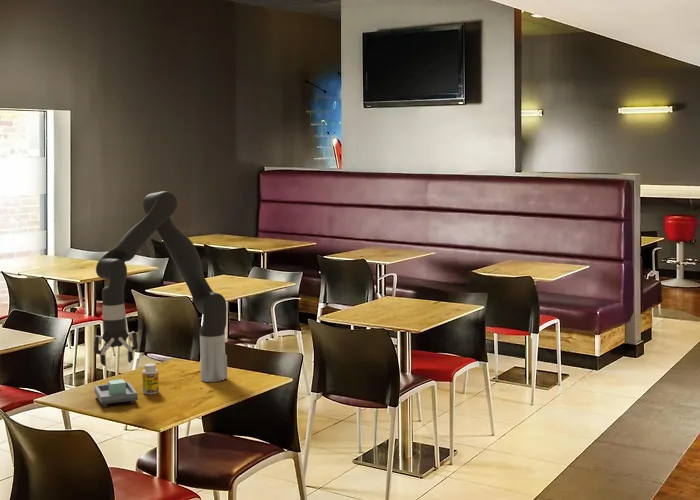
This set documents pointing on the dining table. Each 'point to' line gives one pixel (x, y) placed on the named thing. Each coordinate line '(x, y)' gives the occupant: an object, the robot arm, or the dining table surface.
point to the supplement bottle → (150, 379)
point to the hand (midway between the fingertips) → (116, 363)
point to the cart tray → (105, 398)
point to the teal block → (117, 387)
